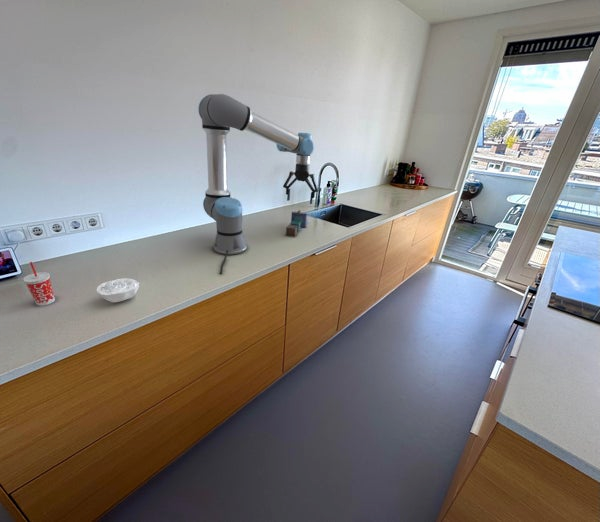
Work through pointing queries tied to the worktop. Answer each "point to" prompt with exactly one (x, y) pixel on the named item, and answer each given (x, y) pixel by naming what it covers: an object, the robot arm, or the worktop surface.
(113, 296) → the cell model
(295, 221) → the block
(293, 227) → the block
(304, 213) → the flask
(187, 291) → the worktop surface
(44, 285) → the beverage cup
